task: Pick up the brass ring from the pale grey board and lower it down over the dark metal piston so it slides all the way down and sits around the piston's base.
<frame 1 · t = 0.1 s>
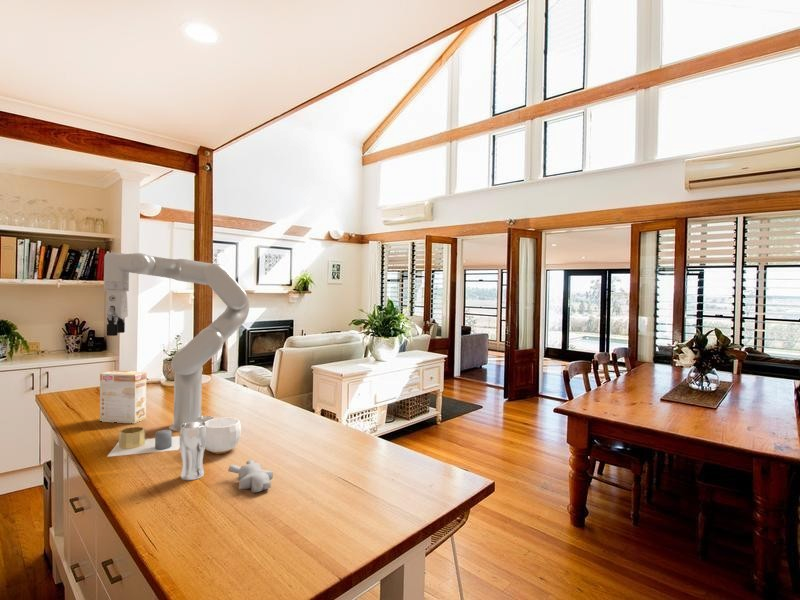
hand: (115, 334, 155), 37 cm above the kitchen island, tool pointing down, fingers open, 9 cm apart
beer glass: (192, 476, 124), on the kitchen island
cup: (221, 451, 143), on the kitchen island
brass ring: (132, 444, 143), point 1 cm above the kitchen island, touching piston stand
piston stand: (163, 450, 142), on the kitchen island
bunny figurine: (251, 484, 120), on the kitchen island
coffeecake box: (123, 420, 172), on the kitchen island
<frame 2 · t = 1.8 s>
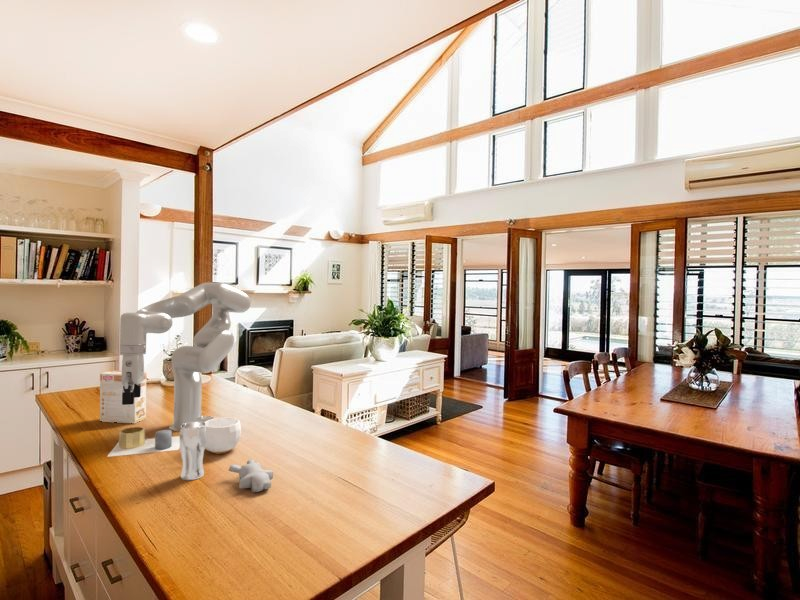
hand: (131, 400, 143), 16 cm above the kitchen island, tool pointing down, fingers open, 9 cm apart
nothing on the kitchen island moved.
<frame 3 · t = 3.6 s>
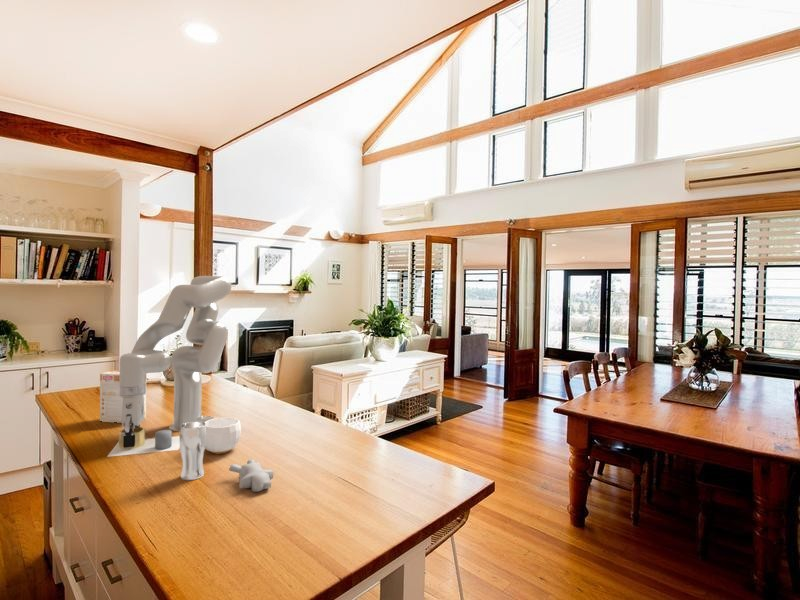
hand: (132, 442, 143), 2 cm above the kitchen island, tool pointing down, fingers closed on brass ring, 7 cm apart
brass ring: (132, 444, 143), point 1 cm above the kitchen island, touching gripper, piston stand
everything else where it was.
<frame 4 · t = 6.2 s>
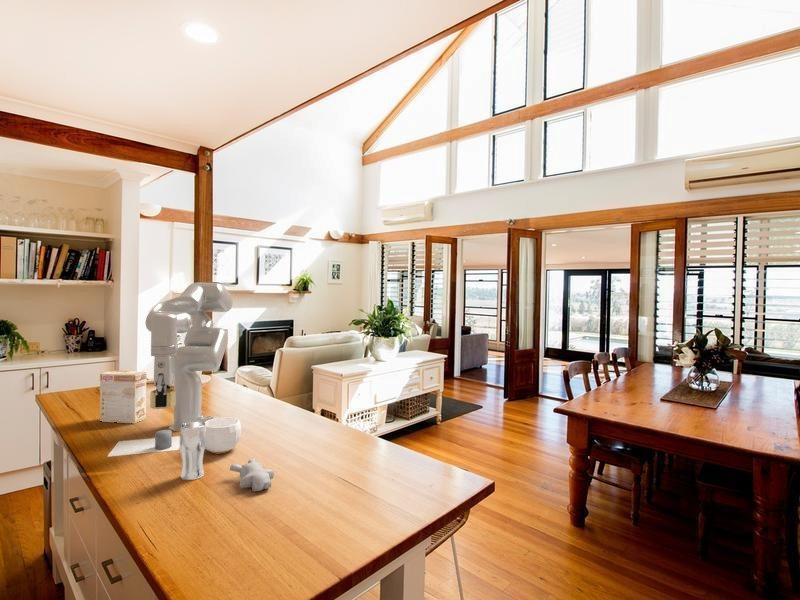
hand: (163, 403, 142), 16 cm above the kitchen island, tool pointing down, fingers closed on brass ring, 7 cm apart
brass ring: (163, 405, 142), point 15 cm above the kitchen island, touching gripper
everything else where it was.
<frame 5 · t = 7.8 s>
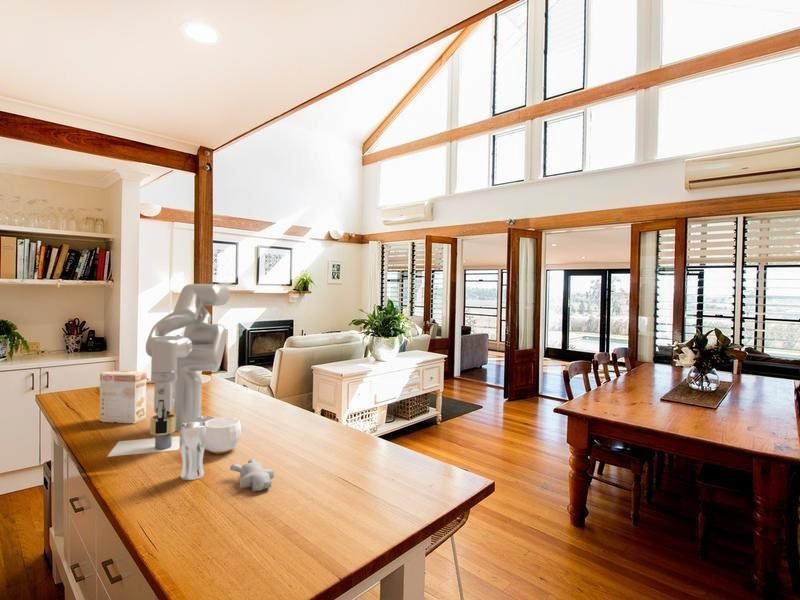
hand: (163, 429, 142), 7 cm above the kitchen island, tool pointing down, fingers closed on brass ring, 7 cm apart
brass ring: (163, 431, 142), point 6 cm above the kitchen island, touching gripper
everything else where it was.
when the fingers open (3 cm above the kitchen island, at t = 9.1 s): brass ring drops 1 cm, resting on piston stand.
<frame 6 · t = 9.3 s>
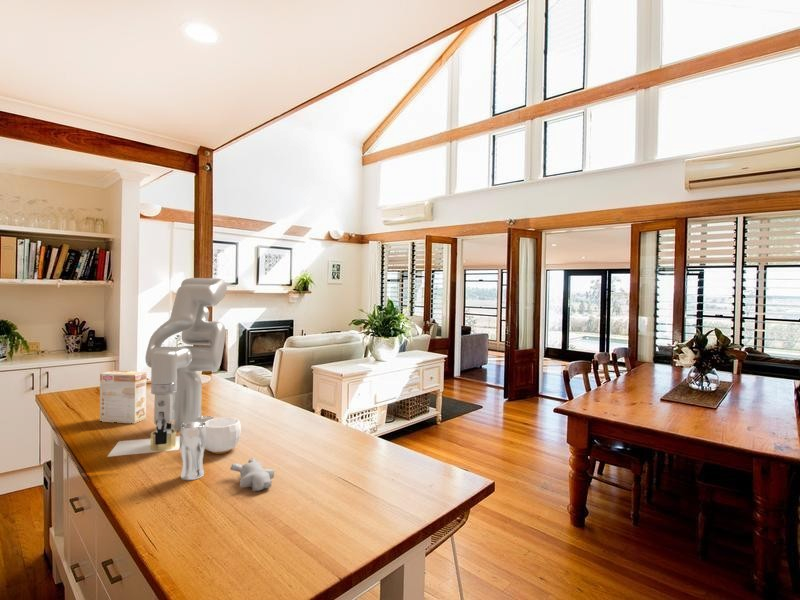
hand: (163, 438, 142), 4 cm above the kitchen island, tool pointing down, fingers open, 9 cm apart
brass ring: (163, 446, 142), point 1 cm above the kitchen island, touching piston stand
everything else where it was.
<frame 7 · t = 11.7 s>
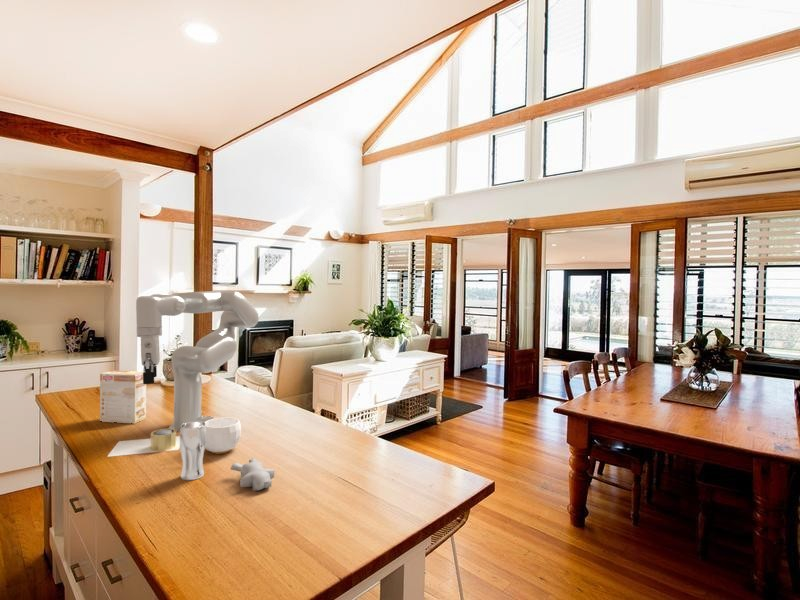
hand: (150, 380, 149), 22 cm above the kitchen island, tool pointing down, fingers open, 9 cm apart
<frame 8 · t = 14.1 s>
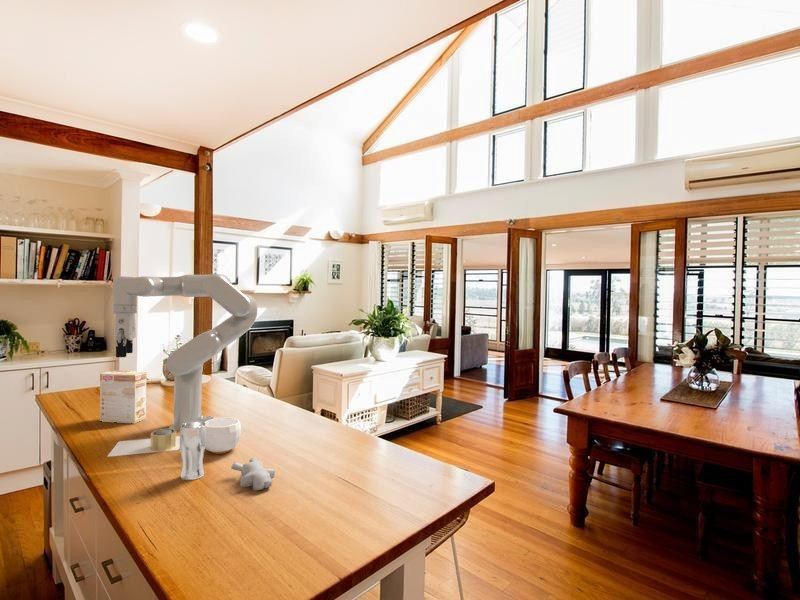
hand: (124, 355, 160), 28 cm above the kitchen island, tool pointing down, fingers open, 9 cm apart
at the end: brass ring 0.1 cm from the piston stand (horizontally); brass ring point 1.0 cm above the kitchen island; the gripper is holding nothing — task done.
